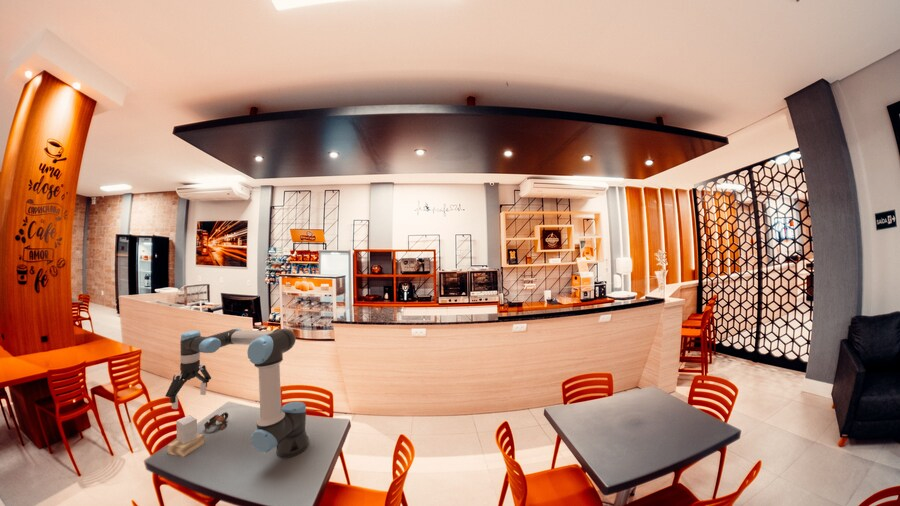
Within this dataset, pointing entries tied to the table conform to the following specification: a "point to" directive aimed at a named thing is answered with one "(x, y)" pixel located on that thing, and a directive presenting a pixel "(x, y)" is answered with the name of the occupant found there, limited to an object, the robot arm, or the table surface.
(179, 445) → the oak block
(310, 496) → the table surface
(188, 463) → the table surface
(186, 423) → the small box
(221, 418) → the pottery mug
